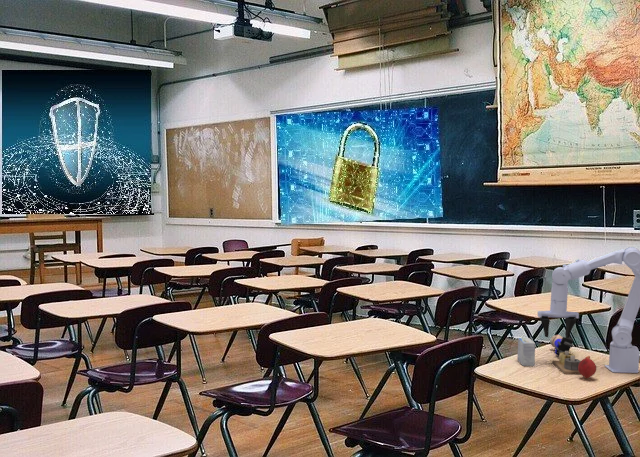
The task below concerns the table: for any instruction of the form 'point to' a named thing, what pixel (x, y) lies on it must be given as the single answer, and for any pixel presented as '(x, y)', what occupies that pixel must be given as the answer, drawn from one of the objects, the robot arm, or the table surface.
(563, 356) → the golden octagonal nut
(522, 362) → the medicine box
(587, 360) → the onion
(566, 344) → the character figurine
